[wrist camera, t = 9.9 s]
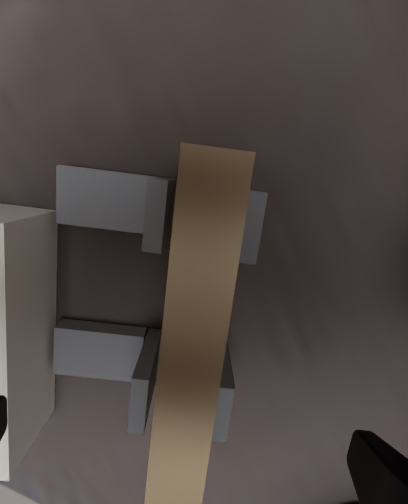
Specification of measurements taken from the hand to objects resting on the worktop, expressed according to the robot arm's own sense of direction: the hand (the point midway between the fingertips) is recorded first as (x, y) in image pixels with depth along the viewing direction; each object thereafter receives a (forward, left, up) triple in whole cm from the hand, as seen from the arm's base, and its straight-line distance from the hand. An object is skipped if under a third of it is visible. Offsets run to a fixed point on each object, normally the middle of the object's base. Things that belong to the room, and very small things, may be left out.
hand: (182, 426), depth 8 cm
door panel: (0, 0, -10) cm, 10 cm away
